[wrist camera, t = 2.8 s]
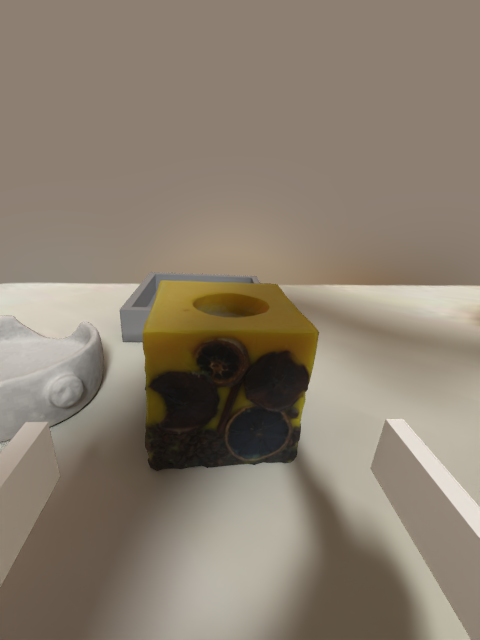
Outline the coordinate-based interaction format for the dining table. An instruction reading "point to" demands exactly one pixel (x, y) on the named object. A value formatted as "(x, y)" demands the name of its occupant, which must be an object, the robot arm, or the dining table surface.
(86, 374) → the dish
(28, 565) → the dining table surface
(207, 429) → the candle
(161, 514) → the dining table surface
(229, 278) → the tray
